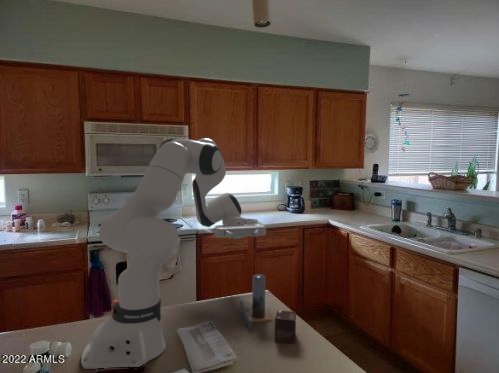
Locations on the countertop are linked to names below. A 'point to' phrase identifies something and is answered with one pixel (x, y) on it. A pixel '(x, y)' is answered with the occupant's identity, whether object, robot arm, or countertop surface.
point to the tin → (258, 296)
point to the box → (285, 326)
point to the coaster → (260, 318)
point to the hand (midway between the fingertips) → (244, 235)
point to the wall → (246, 315)
